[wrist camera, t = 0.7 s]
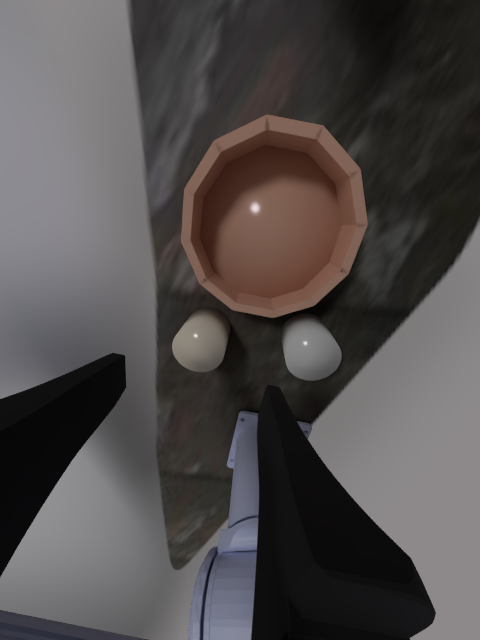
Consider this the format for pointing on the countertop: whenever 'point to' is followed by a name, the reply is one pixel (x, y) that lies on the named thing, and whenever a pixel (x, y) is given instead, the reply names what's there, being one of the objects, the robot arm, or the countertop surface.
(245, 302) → the bowl
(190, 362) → the pebble
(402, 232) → the countertop surface
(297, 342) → the pebble
